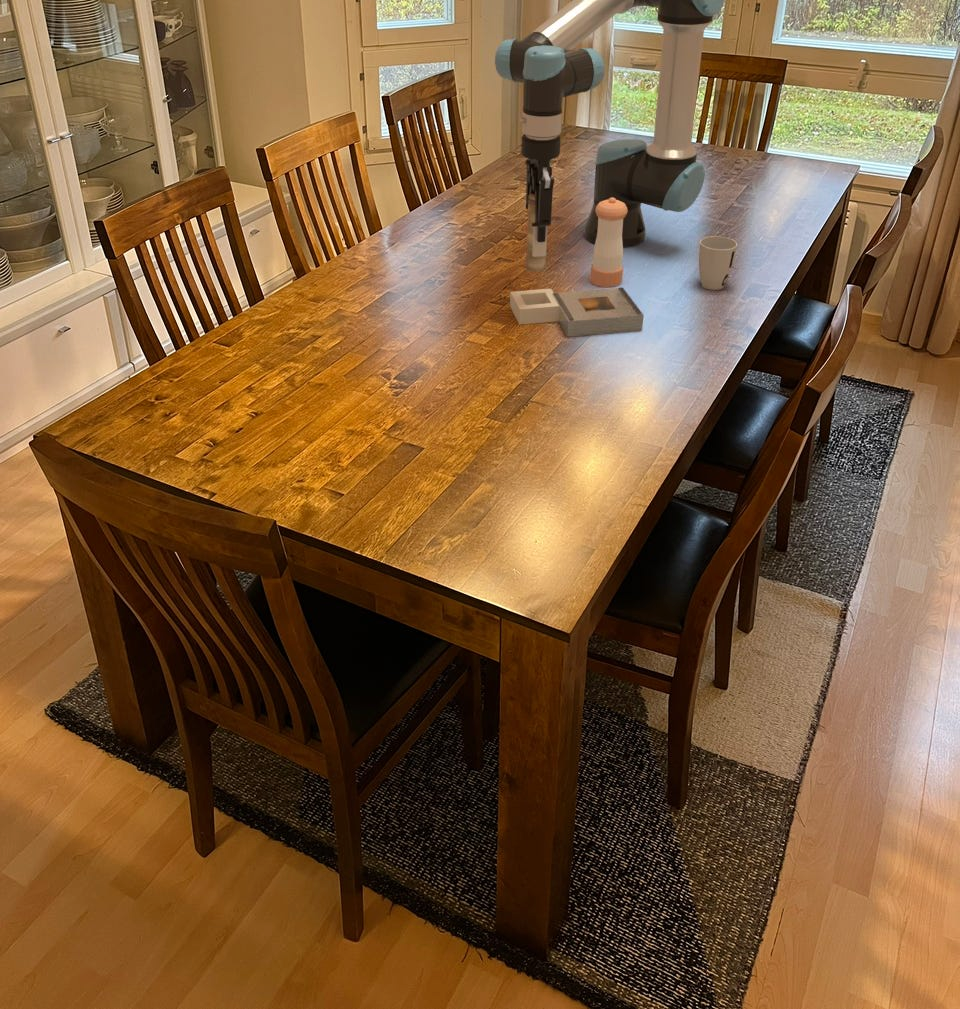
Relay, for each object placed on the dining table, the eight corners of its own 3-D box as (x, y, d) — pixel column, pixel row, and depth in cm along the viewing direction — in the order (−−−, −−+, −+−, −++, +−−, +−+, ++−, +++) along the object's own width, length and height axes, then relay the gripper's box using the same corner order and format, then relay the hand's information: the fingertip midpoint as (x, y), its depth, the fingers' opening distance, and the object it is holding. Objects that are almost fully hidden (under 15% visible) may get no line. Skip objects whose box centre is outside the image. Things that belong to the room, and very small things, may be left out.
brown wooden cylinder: (523, 264, 209) (526, 193, 200) (542, 263, 209) (545, 192, 201) (528, 272, 206) (530, 200, 197) (547, 270, 206) (551, 198, 197)
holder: (510, 306, 217) (510, 291, 215) (550, 303, 218) (551, 288, 216) (519, 324, 210) (519, 309, 208) (560, 321, 211) (561, 305, 209)
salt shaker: (626, 277, 229) (633, 195, 218) (616, 289, 224) (623, 205, 213) (596, 272, 232) (602, 190, 221) (585, 284, 227) (590, 200, 215)
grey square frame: (550, 308, 216) (551, 292, 214) (621, 302, 218) (623, 286, 216) (567, 337, 205) (568, 320, 203) (642, 330, 207) (643, 313, 205)
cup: (730, 294, 222) (737, 251, 216) (693, 291, 223) (699, 248, 218) (730, 279, 228) (737, 237, 223) (694, 276, 230) (700, 234, 224)
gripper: (512, 123, 198) (510, 238, 212) (532, 148, 184) (528, 268, 198) (549, 122, 199) (544, 235, 213) (571, 146, 186) (564, 266, 199)
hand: (536, 251), depth 205 cm, fingers closed on brown wooden cylinder, 4 cm apart
